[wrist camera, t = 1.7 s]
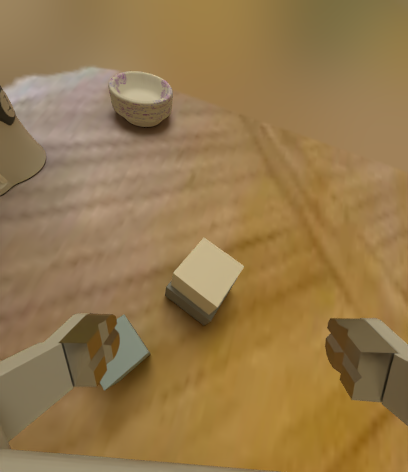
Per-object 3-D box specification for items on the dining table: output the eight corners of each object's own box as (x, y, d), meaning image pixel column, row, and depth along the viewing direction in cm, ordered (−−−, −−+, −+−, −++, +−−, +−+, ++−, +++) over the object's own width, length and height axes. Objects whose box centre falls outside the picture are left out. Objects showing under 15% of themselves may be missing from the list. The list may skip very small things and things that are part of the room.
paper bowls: (113, 99, 59) (107, 65, 52) (167, 103, 63) (168, 73, 56) (113, 133, 52) (107, 100, 45) (174, 136, 56) (177, 105, 49)
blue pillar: (118, 381, 28) (104, 390, 20) (99, 349, 29) (79, 346, 22) (150, 353, 30) (148, 352, 23) (131, 325, 31) (123, 314, 24)
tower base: (203, 325, 34) (210, 321, 29) (165, 295, 35) (166, 286, 31) (228, 287, 38) (237, 278, 33) (192, 261, 39) (197, 249, 35)
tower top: (208, 314, 30) (217, 307, 26) (170, 284, 31) (173, 273, 27) (232, 278, 33) (244, 266, 29) (198, 252, 34) (204, 237, 30)
